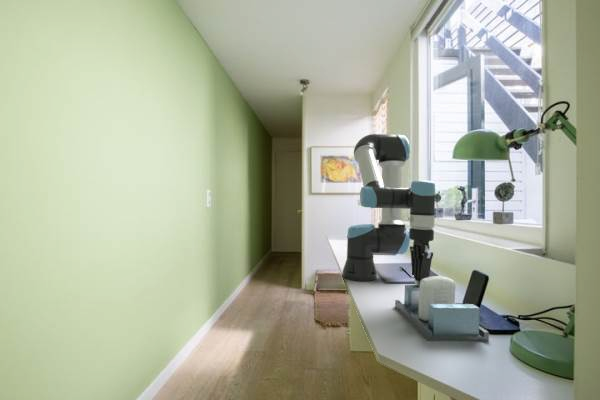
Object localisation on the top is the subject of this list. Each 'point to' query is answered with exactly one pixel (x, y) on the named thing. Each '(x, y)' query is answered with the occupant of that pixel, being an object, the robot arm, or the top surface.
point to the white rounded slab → (435, 294)
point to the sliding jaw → (412, 297)
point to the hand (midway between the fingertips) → (419, 299)
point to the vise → (447, 322)
